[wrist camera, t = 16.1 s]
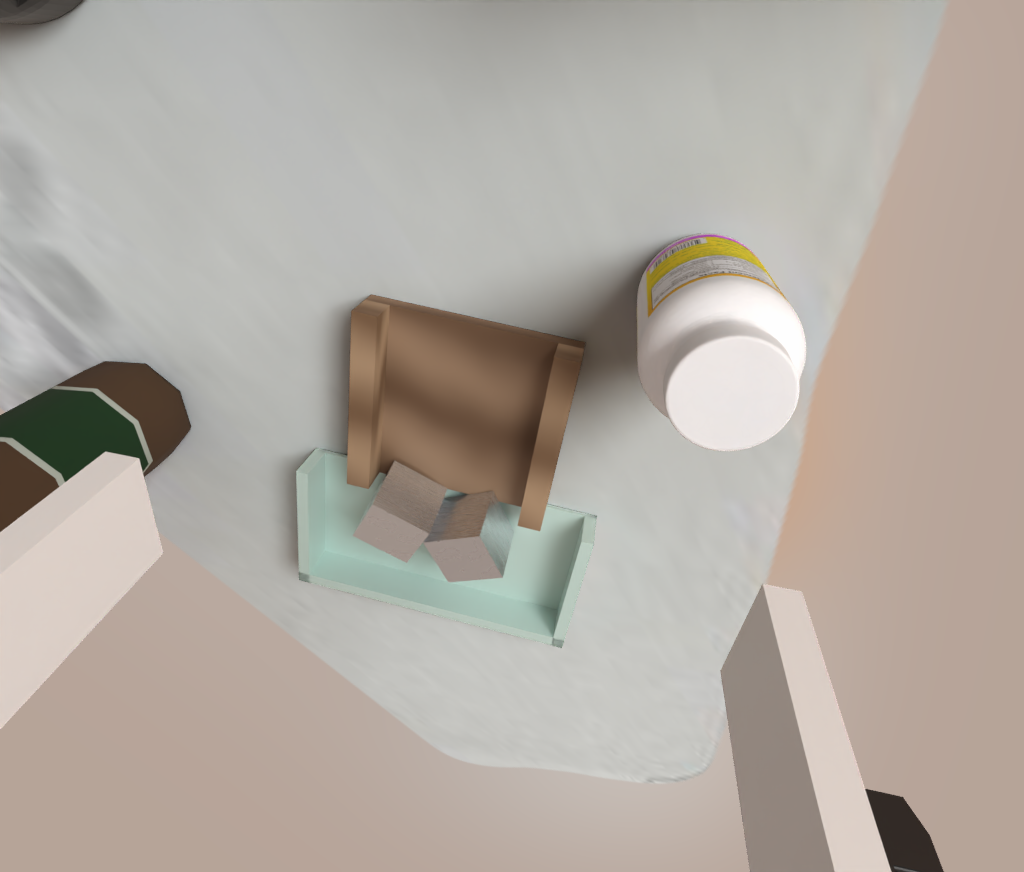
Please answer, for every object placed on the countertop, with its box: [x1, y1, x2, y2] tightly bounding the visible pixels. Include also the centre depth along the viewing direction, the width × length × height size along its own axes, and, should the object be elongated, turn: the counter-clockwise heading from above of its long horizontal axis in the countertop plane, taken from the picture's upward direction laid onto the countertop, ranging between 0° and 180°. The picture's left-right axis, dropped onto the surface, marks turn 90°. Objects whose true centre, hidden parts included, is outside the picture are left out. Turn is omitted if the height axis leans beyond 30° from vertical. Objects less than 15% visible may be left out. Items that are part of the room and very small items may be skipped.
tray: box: [296, 448, 597, 648], centre depth 44 cm, size 10×20×3 cm, turn 81°
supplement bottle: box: [637, 233, 806, 451], centre depth 28 cm, size 7×7×13 cm
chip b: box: [423, 491, 514, 582], centre depth 41 cm, size 4×4×4 cm
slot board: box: [347, 295, 586, 531], centre depth 38 cm, size 12×13×3 cm
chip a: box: [353, 461, 448, 563], centre depth 41 cm, size 4×4×4 cm
